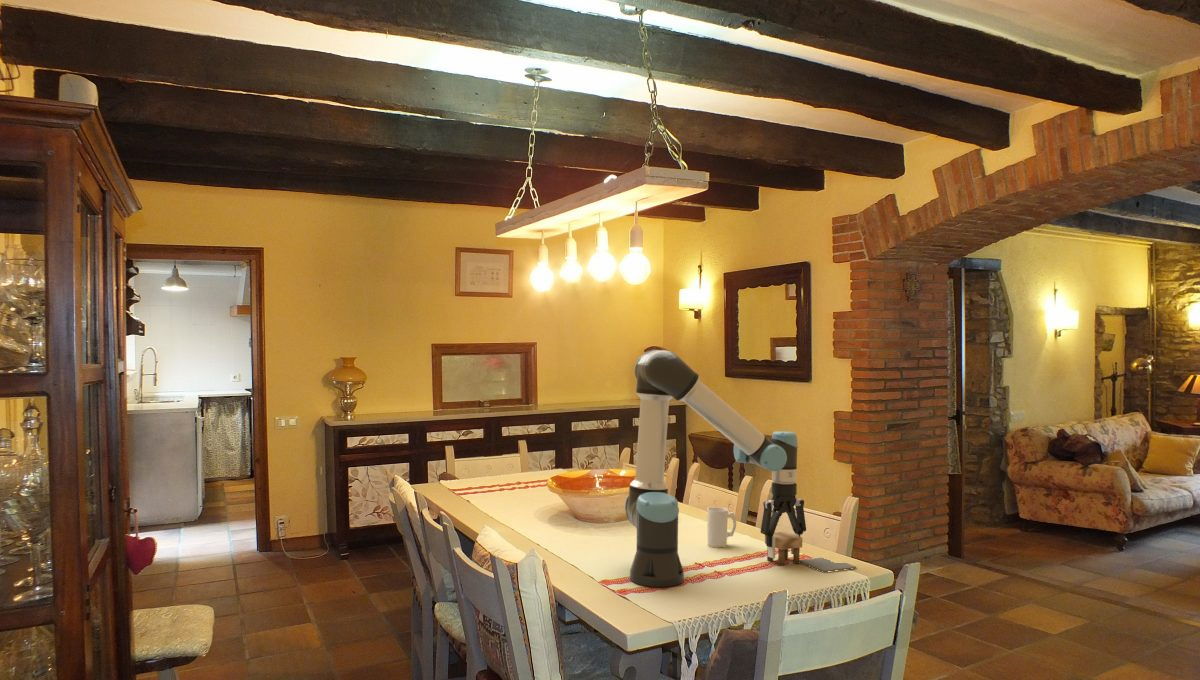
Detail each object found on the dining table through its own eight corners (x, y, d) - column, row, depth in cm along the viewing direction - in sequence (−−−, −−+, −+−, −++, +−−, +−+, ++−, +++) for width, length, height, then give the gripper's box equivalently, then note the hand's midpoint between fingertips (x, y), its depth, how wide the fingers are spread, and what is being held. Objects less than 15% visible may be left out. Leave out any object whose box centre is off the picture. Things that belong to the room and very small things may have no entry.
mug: (710, 548, 249) (711, 511, 249) (704, 543, 255) (704, 507, 256) (739, 547, 251) (740, 510, 251) (732, 542, 257) (732, 506, 258)
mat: (824, 572, 223) (824, 570, 223) (798, 562, 234) (798, 560, 234) (856, 568, 227) (856, 566, 227) (829, 558, 238) (829, 556, 238)
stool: (780, 566, 229) (780, 539, 229) (764, 559, 236) (764, 533, 236) (802, 563, 232) (802, 537, 232) (785, 557, 239) (786, 531, 239)
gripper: (763, 485, 227) (762, 562, 226) (819, 482, 235) (818, 556, 235) (748, 481, 234) (747, 556, 233) (803, 478, 242) (802, 550, 241)
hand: (783, 555), depth 234 cm, fingers closed on stool, 8 cm apart
